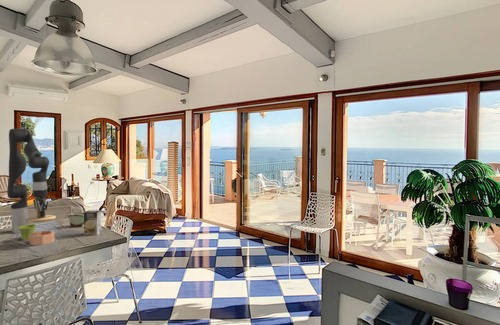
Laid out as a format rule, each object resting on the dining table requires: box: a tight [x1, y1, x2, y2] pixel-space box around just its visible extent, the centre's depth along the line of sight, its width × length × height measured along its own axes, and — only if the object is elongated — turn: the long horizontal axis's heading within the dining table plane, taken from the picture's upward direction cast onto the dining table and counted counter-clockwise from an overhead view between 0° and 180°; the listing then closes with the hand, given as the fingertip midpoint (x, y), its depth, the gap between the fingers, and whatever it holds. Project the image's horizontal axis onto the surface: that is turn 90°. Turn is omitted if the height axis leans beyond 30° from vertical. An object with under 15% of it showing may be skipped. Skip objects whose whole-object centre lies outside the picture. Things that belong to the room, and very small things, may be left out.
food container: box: [67, 212, 84, 228], centre depth 222 cm, size 12×6×10 cm, turn 84°
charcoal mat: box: [54, 229, 84, 241], centre depth 200 cm, size 17×17×1 cm
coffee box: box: [83, 210, 102, 236], centre depth 201 cm, size 9×6×16 cm
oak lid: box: [26, 208, 57, 223], centre depth 183 cm, size 15×15×7 cm
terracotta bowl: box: [28, 230, 56, 246], centre depth 184 cm, size 12×12×6 cm
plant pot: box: [19, 224, 38, 241], centre depth 191 cm, size 9×9×9 cm
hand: (41, 216), depth 184 cm, fingers closed on oak lid, 3 cm apart
